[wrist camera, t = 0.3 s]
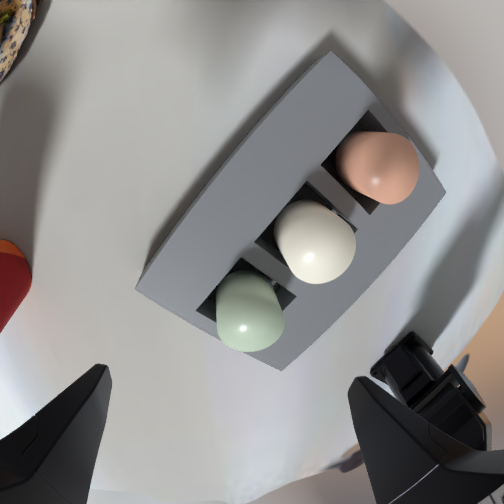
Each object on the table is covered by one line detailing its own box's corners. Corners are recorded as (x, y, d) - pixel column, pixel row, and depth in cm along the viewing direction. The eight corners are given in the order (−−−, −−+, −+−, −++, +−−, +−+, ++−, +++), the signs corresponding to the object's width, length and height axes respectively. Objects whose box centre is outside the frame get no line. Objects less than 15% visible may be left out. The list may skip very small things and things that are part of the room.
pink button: (397, 161, 17) (429, 169, 14) (363, 203, 18) (390, 218, 15) (361, 118, 16) (391, 118, 13) (323, 162, 17) (347, 170, 14)
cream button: (344, 225, 19) (368, 244, 15) (304, 269, 20) (321, 295, 16) (302, 186, 17) (322, 199, 14) (260, 235, 18) (271, 258, 15)
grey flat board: (426, 185, 20) (446, 192, 18) (275, 351, 24) (281, 371, 22) (316, 59, 15) (331, 50, 13) (142, 271, 20) (134, 289, 17)
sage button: (285, 290, 20) (298, 319, 17) (249, 328, 21) (255, 360, 18) (240, 258, 19) (246, 285, 15) (204, 301, 20) (203, 333, 16)
